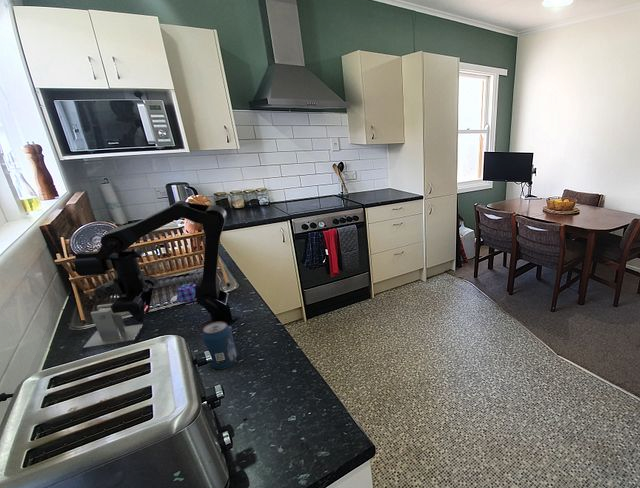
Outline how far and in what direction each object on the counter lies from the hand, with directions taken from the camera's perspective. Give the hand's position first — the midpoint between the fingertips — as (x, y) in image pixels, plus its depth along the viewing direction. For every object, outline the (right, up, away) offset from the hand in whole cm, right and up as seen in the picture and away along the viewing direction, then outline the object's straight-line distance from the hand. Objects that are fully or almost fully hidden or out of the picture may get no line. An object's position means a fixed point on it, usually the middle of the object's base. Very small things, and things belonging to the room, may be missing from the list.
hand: (143, 317), depth 107 cm
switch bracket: (-8, -6, -1) cm, 10 cm away
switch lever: (-4, +1, -2) cm, 5 cm away
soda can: (+30, -12, -9) cm, 34 cm away
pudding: (-1, +4, +23) cm, 23 cm away
